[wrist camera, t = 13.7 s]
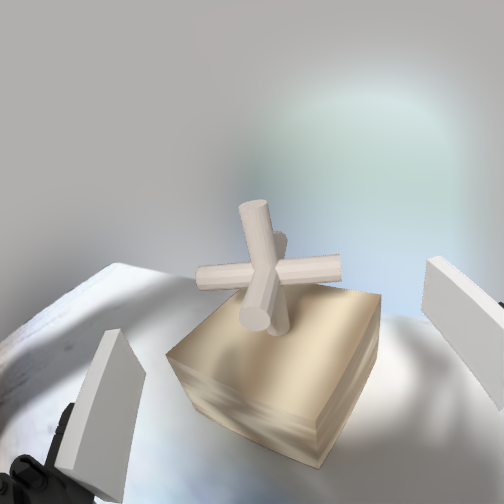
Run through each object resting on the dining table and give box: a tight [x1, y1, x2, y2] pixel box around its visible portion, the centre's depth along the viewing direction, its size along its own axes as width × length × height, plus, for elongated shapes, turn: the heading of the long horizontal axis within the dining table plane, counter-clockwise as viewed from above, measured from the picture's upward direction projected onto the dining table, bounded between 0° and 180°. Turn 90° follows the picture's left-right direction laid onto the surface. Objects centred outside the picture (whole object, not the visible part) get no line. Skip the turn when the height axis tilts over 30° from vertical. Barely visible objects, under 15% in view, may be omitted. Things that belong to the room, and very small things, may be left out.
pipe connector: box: [196, 200, 342, 336], centre depth 21 cm, size 10×10×10 cm
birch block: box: [165, 284, 381, 469], centre depth 25 cm, size 13×13×8 cm
